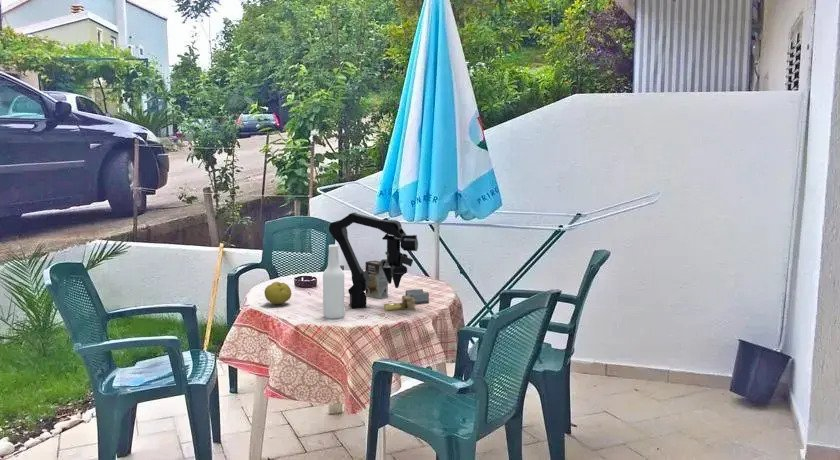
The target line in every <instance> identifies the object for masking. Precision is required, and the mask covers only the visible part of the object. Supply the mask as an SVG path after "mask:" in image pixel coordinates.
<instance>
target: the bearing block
mask: <svg viewBox="0 0 840 460" xmlns="http://www.w3.org/2000/svg"><path fill="white" fill-rule="evenodd" d="M402 302H407V310H408V311H412V310H416V304H415V299H414V298H412V297H411V296H409V295H406V294H405V295H401V303H402Z"/></svg>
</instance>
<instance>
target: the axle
mask: <svg viewBox="0 0 840 460" xmlns="http://www.w3.org/2000/svg"><path fill="white" fill-rule="evenodd" d="M384 310H385V311H384ZM390 310H391V311H399V310H402V311H403V310H406V309H405V303H402V302H396V303H395V302H394V303H384V304H383V311H384V312H387V311H389V312H390Z"/></svg>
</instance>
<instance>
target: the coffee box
mask: <svg viewBox="0 0 840 460" xmlns="http://www.w3.org/2000/svg"><path fill="white" fill-rule="evenodd" d="M380 261H381V260H369V261H365V271H366V270H367V272H368V275H369V277H370V284H369V286H368V287H367V288H366V290H365V295H366V297H369V298H373V299H378V300H379V299H380V300H381V299H383V298H387V297H388V296H389V295H388V293H389V289H388V288H389V286H388V285H389V283H388V281H387V279H386V276H385V274H384V272H383V270H382V268H381V267H382V266H380Z"/></svg>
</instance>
